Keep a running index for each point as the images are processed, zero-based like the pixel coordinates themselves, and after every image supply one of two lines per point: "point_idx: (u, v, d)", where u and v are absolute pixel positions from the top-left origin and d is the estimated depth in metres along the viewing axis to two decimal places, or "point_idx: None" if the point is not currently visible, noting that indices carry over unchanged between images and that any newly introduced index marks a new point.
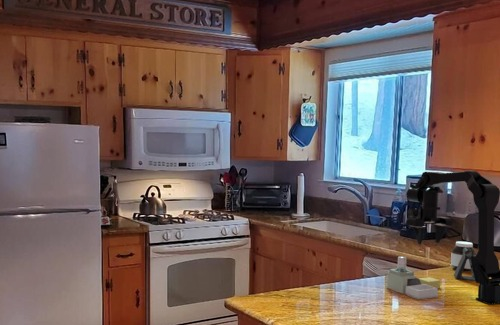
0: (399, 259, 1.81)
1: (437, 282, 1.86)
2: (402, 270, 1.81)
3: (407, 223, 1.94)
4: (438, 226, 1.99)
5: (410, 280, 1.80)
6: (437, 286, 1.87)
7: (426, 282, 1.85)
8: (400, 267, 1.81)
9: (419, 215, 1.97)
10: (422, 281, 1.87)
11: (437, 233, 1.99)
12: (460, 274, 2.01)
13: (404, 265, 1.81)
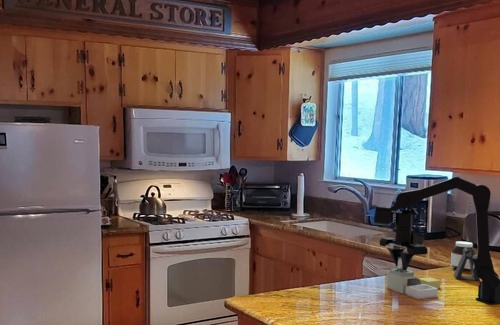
0: (399, 259, 1.81)
1: (437, 282, 1.86)
2: (402, 270, 1.81)
3: None
4: None
5: (410, 280, 1.80)
6: (437, 286, 1.86)
7: (426, 282, 1.85)
8: (400, 267, 1.81)
9: None
10: (422, 281, 1.87)
11: None
12: (460, 274, 2.01)
13: None
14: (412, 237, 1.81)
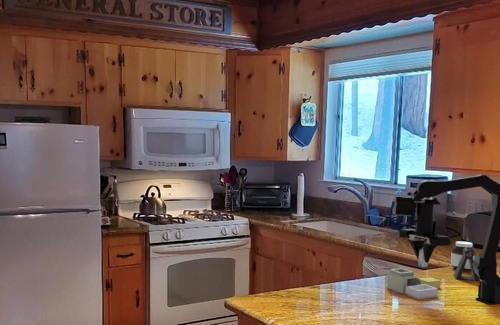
0: (420, 251, 1.74)
1: (437, 282, 1.86)
2: (424, 262, 1.73)
3: None
4: None
5: (410, 280, 1.80)
6: (437, 286, 1.86)
7: (425, 282, 1.85)
8: (422, 259, 1.74)
9: None
10: (422, 281, 1.87)
11: None
12: (460, 274, 2.01)
13: None
14: (434, 228, 1.73)
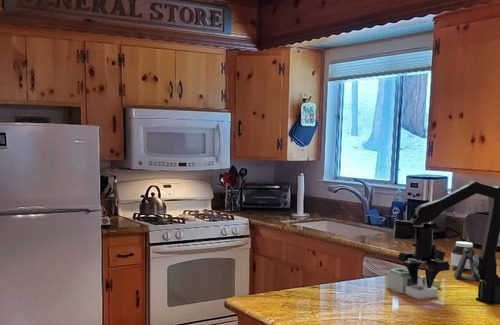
0: (419, 279, 1.74)
1: (437, 282, 1.86)
2: None
3: None
4: None
5: (410, 280, 1.80)
6: (437, 286, 1.86)
7: None
8: (420, 287, 1.74)
9: None
10: None
11: None
12: (460, 274, 2.01)
13: (424, 285, 1.74)
14: (433, 252, 1.74)
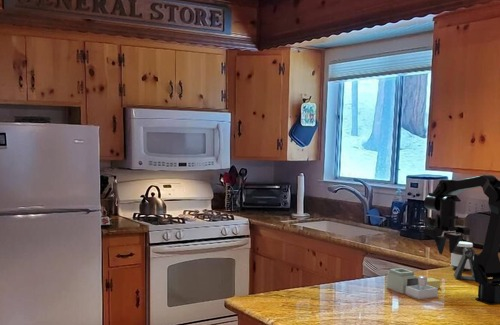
0: (419, 279, 1.74)
1: (437, 282, 1.86)
2: None
3: (424, 232, 1.89)
4: (452, 235, 1.93)
5: (410, 280, 1.80)
6: (437, 286, 1.86)
7: None
8: (420, 287, 1.74)
9: (436, 224, 1.92)
10: None
11: (451, 243, 1.93)
12: (460, 274, 2.01)
13: (425, 285, 1.74)
14: None
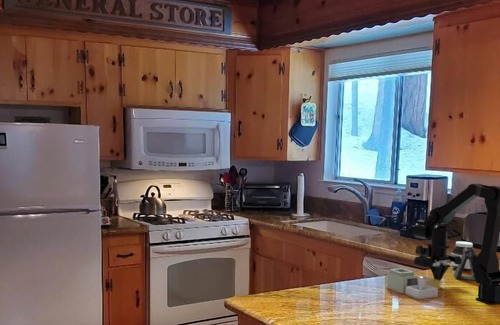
0: (419, 279, 1.74)
1: (436, 282, 1.86)
2: None
3: (415, 262, 1.87)
4: None
5: (410, 280, 1.80)
6: (436, 286, 1.86)
7: None
8: (420, 287, 1.74)
9: (427, 253, 1.91)
10: None
11: None
12: (460, 274, 2.01)
13: (424, 285, 1.74)
14: None
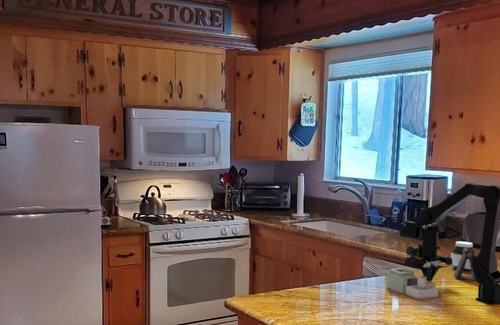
0: (418, 278, 1.75)
1: (433, 284, 1.83)
2: None
3: (405, 263, 1.85)
4: None
5: (410, 280, 1.80)
6: None
7: None
8: (420, 287, 1.74)
9: (418, 254, 1.89)
10: None
11: None
12: (460, 274, 2.01)
13: (424, 285, 1.74)
14: None
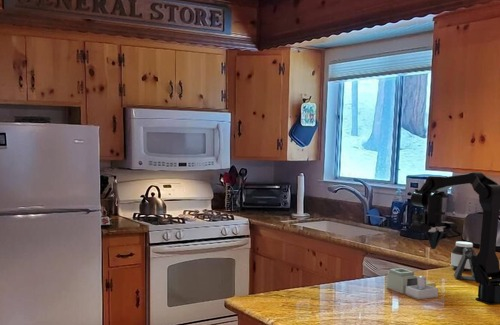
0: (418, 278, 1.75)
1: (433, 284, 1.83)
2: None
3: (412, 228, 1.92)
4: None
5: (410, 280, 1.80)
6: None
7: None
8: (419, 287, 1.74)
9: (423, 220, 1.95)
10: None
11: None
12: (460, 274, 2.01)
13: (423, 285, 1.74)
14: None
